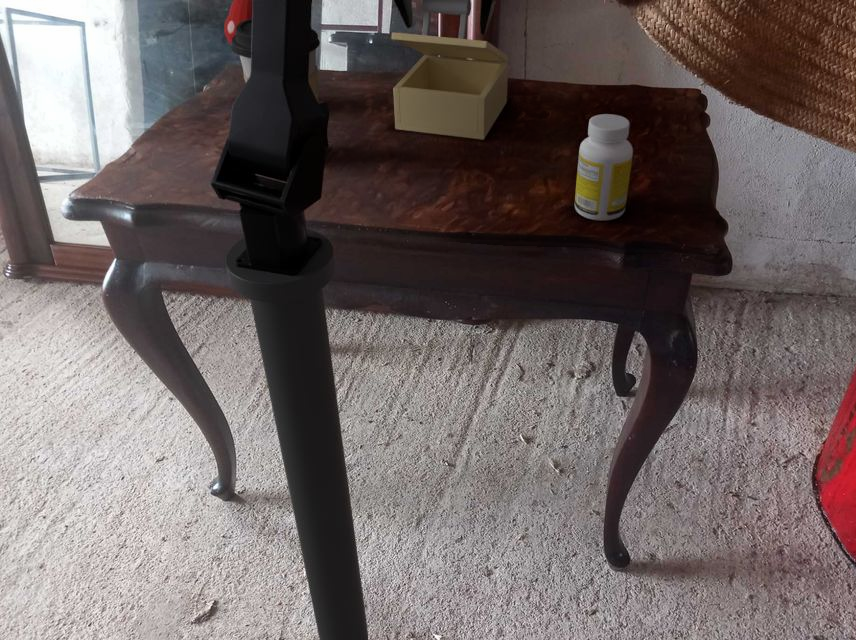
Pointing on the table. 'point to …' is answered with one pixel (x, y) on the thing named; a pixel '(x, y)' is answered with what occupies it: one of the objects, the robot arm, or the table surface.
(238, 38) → the coffee cup
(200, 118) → the table surface
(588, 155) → the supplement bottle
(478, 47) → the lid
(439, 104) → the wooden box
